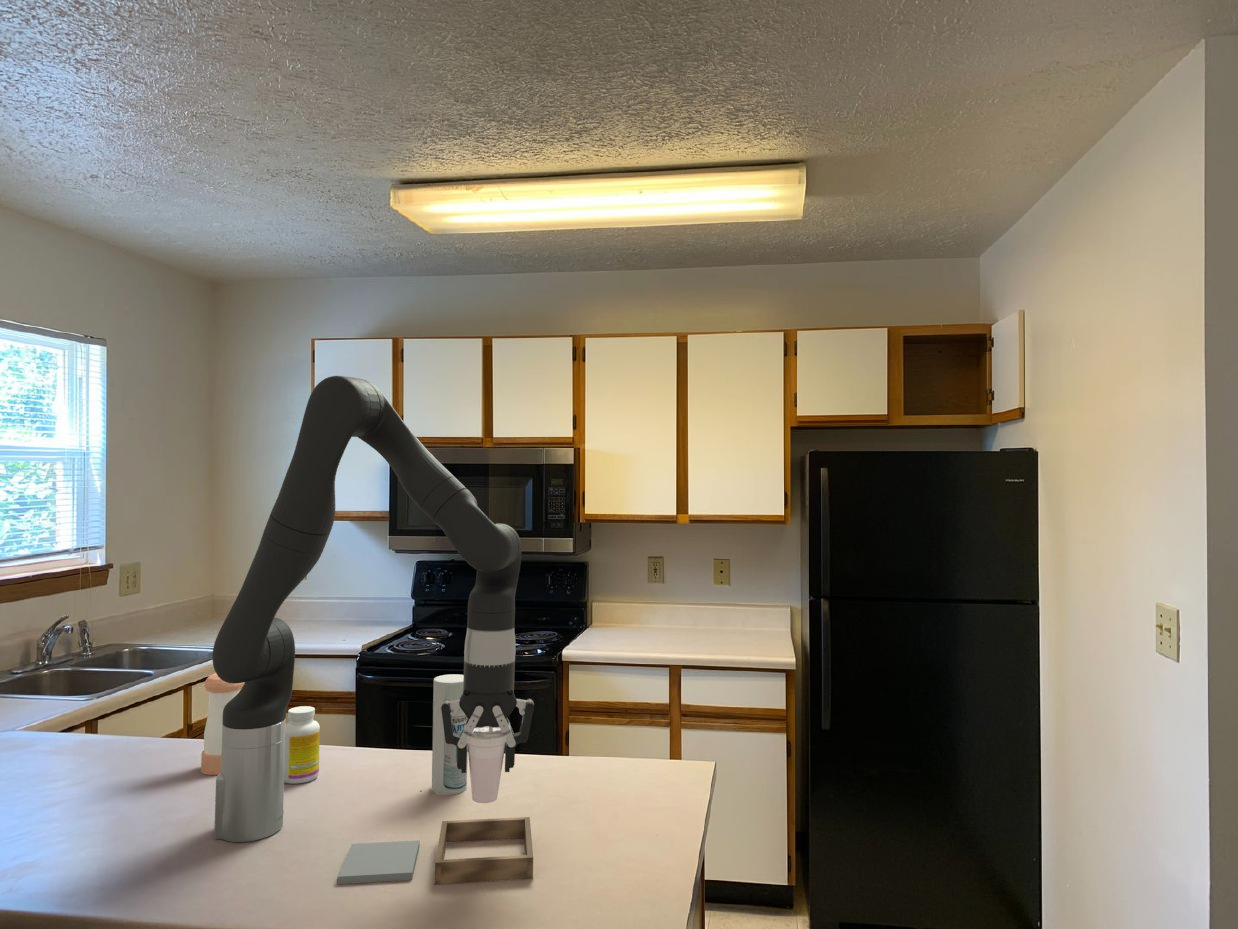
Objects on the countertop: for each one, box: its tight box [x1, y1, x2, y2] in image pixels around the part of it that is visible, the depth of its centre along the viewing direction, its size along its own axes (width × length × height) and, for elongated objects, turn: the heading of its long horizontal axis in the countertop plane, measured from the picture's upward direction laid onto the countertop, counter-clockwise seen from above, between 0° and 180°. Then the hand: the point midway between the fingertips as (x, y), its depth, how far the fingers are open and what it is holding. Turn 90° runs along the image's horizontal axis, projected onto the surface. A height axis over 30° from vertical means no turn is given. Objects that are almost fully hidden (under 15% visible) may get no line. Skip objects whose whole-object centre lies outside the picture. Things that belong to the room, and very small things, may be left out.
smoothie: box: [467, 726, 507, 804], centre depth 116 cm, size 6×6×14 cm
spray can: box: [431, 673, 469, 796], centre depth 142 cm, size 6×6×20 cm
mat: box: [337, 839, 421, 885], centre depth 113 cm, size 10×10×1 cm
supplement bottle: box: [284, 705, 321, 785], centre depth 146 cm, size 7×7×13 cm
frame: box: [434, 816, 534, 886], centre depth 115 cm, size 14×14×3 cm
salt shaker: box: [200, 672, 245, 776], centre depth 151 cm, size 7×7×19 cm
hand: (485, 770), depth 116 cm, fingers closed on smoothie, 5 cm apart
